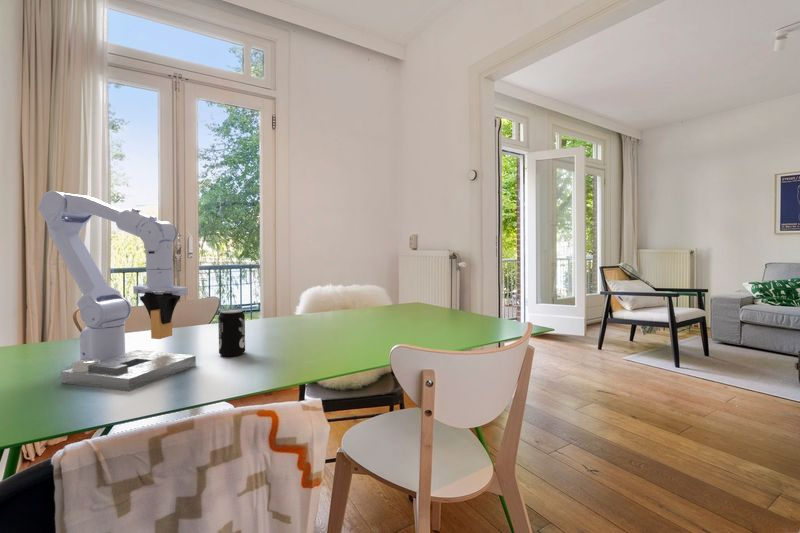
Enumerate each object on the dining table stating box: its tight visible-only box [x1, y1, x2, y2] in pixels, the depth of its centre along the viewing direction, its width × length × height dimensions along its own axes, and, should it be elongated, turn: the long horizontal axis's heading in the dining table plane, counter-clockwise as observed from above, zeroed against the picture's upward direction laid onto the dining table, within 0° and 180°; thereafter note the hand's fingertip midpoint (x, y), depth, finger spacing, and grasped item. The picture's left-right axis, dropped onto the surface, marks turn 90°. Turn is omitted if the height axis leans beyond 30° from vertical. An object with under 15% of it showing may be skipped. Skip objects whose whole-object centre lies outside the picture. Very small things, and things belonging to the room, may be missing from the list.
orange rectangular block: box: [150, 309, 173, 340], centre depth 100 cm, size 2×4×7 cm, turn 167°
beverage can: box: [217, 308, 246, 358], centre depth 107 cm, size 7×7×12 cm
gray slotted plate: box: [60, 349, 197, 392], centre depth 91 cm, size 18×18×4 cm
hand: (161, 322), depth 100 cm, fingers open, 2 cm apart
